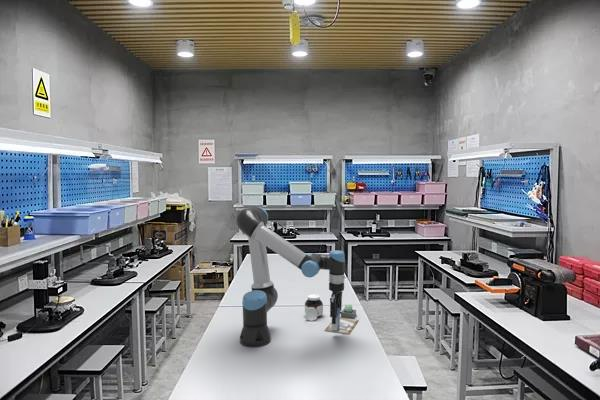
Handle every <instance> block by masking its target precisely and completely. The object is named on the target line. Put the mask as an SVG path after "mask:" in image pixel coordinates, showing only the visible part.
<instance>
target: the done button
mask: <svg viewBox="0 0 600 400" xmlns="http://www.w3.org/2000/svg"><path fill="white" fill-rule="evenodd" d="M344 309H345V312H346V313H352V310H353V305H352V304H346V305H344Z"/></svg>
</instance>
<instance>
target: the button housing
mask: <svg viewBox="0 0 600 400" xmlns="http://www.w3.org/2000/svg"><path fill="white" fill-rule="evenodd" d="M341 312H342V314H340V317H341V318H348V319H355V317H356V316H357V309H352V313H346V312H345V308H343V309H342V310H341Z"/></svg>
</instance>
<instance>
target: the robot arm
mask: <svg viewBox="0 0 600 400" xmlns="http://www.w3.org/2000/svg"><path fill="white" fill-rule="evenodd" d="M268 221H269V214H268V213H267V211H266V209H264V208H263V207H261V206H250V207H247V208H243V209H242V210H240V211H239V212H238V214H237V215H236V217H235V223H236V226H237V228H238V229H239V231H241V232H242V233H243V234H244V236H246V237H247V239H248V248H249V255H250V261H251V262H250V263H251V269H252V270H251V272H252V278H253V279H252V280H253V283H252V284H251V286H250V287H251V290H250V291H247V292H246V293H244V295H242V304H241V305H242V329H241V332H240V335H239V342H240V344H241V345H242V346H245V347H249V348H251V347H253V348H256V347H257V348H258V347H261V346H262V347H263V346H265V345H268V344H269V343H270V342H271V341H272V335H271V332H270V328H269V326H268V312H269V311H270V310H271V309H272V308H273V307H274V306H275V305H276V303H277V301H278V296H279V295H278V291H277V288H275V285H274V282H273V281H272V280H271V277H270V268H269V260H268V251H267V248H268V249H270V250H272V251H273V252H274V253H276V254H277V255H279V256H280V257H282V258H283V259H284V260H286V261H287V262H289V263H290V264H292V265H293V266H295V267H296V268H297V269H299V270H300V271H301V273H302V275H303V276H304V277H306V278H313V277H315V276H316V275H317V274H319V272H320V270H327V271H328V281H329V282H328V290H329V291H331V292H332V293H331V295H330V296H331V297H330V298H329V303H330V304H329V308H330V309H329V313H330V314H329V317H330V318H331V322H332V324H331V330H337V307H338V308H340V315H341V314H342V311H343V309H342V307H343V306H342V305H343V304H342V303H343V301H342V300H343V291H344V290H345V279H346V276H345V267H346V266H345V265H346V259H345V258H346V257H345V252H344V251H342V250H340V249H339V250H336V249H335V250H334V249H333V250H330V251H329V254H327V253H326V254H325V253H324V254H323V253H314V252H313V253H310V252H309V253H308V252H307V253H305V252H304V251H303V250H301V249H300V248H298V247H297V246H295V245H294V244H292V243H291V242H289V241H288V240H286V239H285V238H284V237H282V236H280V235H279V234H277V233H276V232H274V231H273V230H271V229H270V228H268V227H267V224H268Z"/></svg>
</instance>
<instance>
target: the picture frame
mask: <svg viewBox="0 0 600 400" xmlns="http://www.w3.org/2000/svg"><path fill="white" fill-rule="evenodd" d="M358 322H360V321H359V319H356V318H354V319H348V318H341V316H340V331H338V332H334V331H332V330H331V324H332V321H331V322H330V323H329V325H328V326H327V327H326V328H324V332H329V333H335V334H342V335H348V336H349V335H350V334H351V332H352V331H353V329H354V328H355V327H356V325H358Z"/></svg>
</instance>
